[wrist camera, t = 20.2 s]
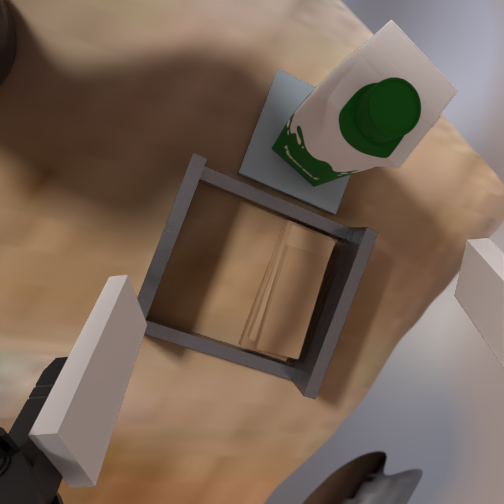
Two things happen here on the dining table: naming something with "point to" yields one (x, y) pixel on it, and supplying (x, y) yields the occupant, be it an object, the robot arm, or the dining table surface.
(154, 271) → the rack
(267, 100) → the mat
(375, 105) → the soya milk
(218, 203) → the dining table surface
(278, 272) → the offcut stack
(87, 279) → the dining table surface
